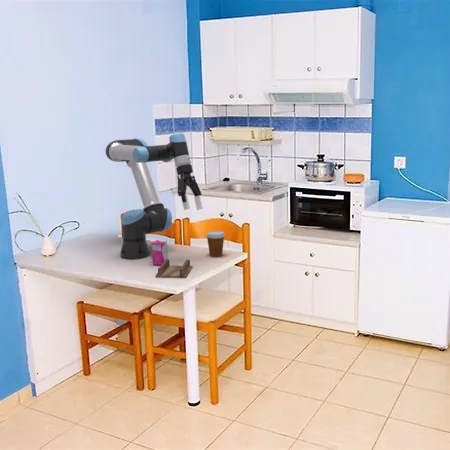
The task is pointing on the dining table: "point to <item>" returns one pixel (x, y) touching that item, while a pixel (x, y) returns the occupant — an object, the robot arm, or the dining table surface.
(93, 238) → the dining table surface
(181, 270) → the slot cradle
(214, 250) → the disposable coffee cup
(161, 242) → the supplement box
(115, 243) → the dining table surface
